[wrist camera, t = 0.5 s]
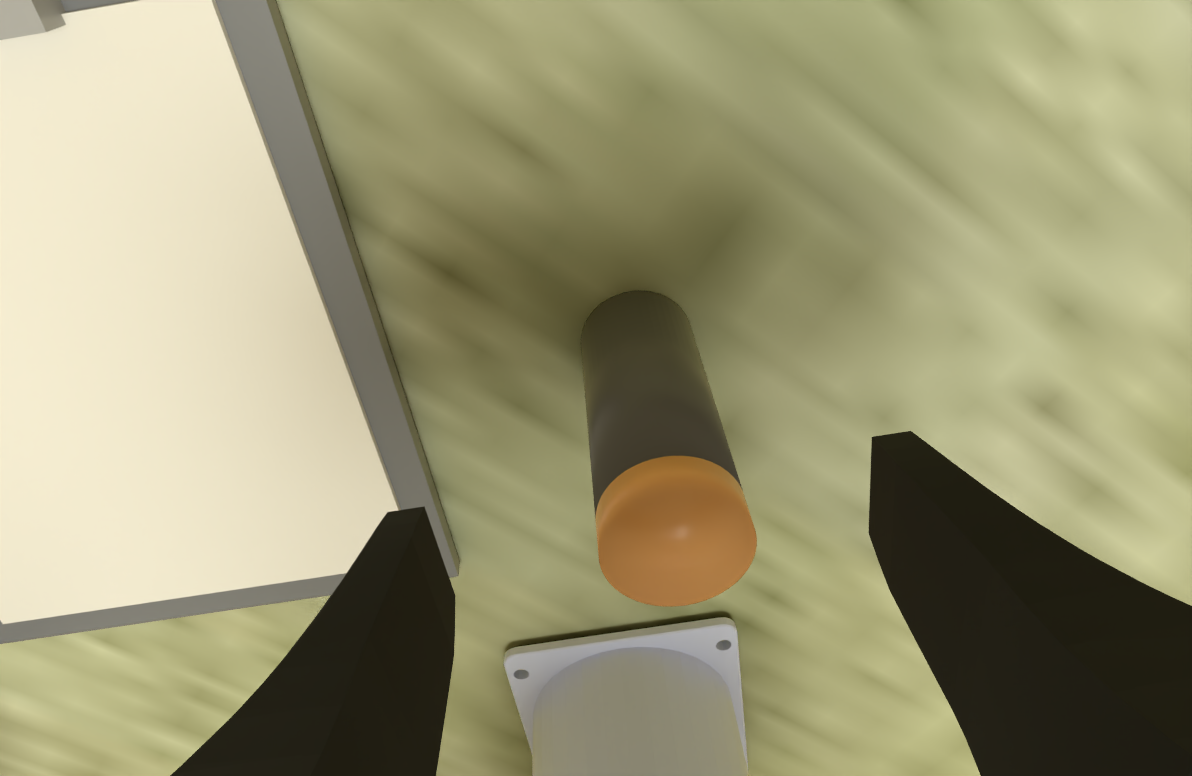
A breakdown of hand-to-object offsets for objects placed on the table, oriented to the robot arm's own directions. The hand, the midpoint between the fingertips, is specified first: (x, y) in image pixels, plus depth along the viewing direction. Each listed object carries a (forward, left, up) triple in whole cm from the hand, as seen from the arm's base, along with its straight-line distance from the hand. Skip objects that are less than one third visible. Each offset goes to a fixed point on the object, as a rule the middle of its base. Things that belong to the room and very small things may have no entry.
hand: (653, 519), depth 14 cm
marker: (-2, 0, -9) cm, 10 cm away
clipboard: (+1, +14, -9) cm, 17 cm away
